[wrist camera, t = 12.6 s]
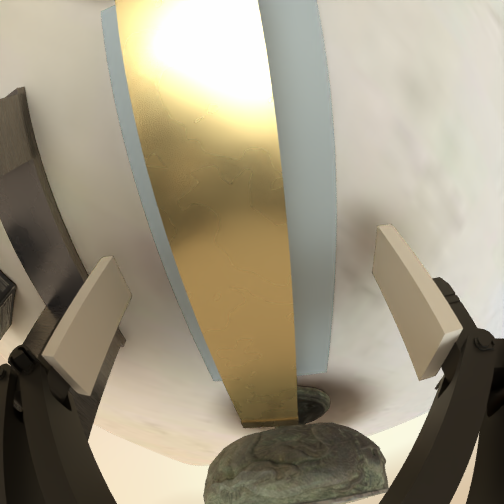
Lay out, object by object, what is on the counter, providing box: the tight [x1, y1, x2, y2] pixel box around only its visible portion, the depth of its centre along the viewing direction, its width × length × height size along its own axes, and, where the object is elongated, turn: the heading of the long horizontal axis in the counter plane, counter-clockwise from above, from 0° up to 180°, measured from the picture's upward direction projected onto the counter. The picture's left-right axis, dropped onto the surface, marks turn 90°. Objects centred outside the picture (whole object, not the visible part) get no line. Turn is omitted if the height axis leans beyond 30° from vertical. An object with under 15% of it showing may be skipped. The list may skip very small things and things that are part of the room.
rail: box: [115, 0, 298, 428], centre depth 13 cm, size 4×26×5 cm, turn 8°
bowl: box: [203, 386, 389, 504], centre depth 24 cm, size 20×19×15 cm
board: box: [101, 0, 337, 381], centre depth 16 cm, size 10×28×2 cm, turn 8°
